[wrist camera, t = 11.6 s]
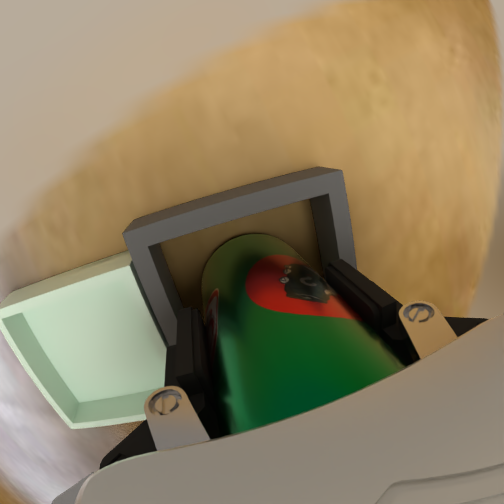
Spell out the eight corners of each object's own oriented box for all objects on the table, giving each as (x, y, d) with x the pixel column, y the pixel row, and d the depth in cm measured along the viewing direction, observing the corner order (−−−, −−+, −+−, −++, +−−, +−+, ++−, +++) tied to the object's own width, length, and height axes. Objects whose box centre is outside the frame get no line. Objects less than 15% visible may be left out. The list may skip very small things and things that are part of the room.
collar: (343, 321, 17) (362, 344, 15) (195, 369, 17) (197, 399, 14) (318, 166, 14) (342, 170, 12) (133, 219, 13) (122, 233, 11)
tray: (196, 378, 17) (198, 408, 14) (79, 402, 16) (71, 429, 14) (138, 246, 14) (129, 265, 12) (12, 291, 13) (-9, 312, 11)
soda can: (183, 256, 14) (185, 513, 3) (280, 213, 15) (483, 371, 3) (225, 336, 16) (282, 555, 5) (311, 298, 16) (448, 476, 5)
